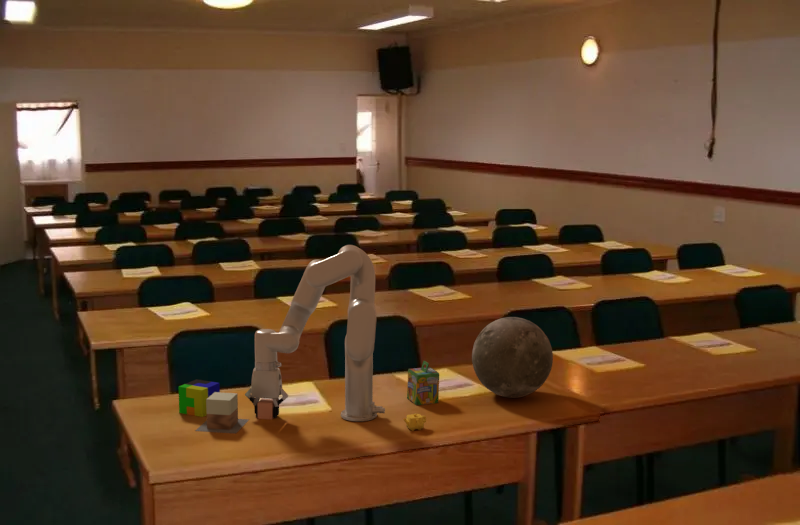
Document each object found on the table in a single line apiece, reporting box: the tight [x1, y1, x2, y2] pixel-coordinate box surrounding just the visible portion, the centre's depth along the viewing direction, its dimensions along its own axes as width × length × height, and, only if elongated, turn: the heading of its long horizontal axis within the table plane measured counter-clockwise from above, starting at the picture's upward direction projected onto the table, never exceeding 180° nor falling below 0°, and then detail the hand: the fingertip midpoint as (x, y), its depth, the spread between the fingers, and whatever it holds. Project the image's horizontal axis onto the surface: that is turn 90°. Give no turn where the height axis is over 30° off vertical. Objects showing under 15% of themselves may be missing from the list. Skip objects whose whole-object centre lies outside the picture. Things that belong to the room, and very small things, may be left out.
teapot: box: [402, 413, 427, 432], centre depth 295 cm, size 8×6×5 cm
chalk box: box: [406, 360, 440, 406], centre depth 324 cm, size 9×9×15 cm
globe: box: [471, 316, 554, 399], centre depth 330 cm, size 30×30×30 cm
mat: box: [194, 418, 250, 434], centre depth 296 cm, size 14×14×1 cm
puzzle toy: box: [177, 378, 221, 418], centre depth 310 cm, size 10×10×10 cm
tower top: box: [206, 391, 239, 415], centre depth 295 cm, size 8×8×5 cm
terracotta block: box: [257, 398, 275, 420], centre depth 305 cm, size 5×5×6 cm
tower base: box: [206, 408, 239, 430], centre depth 296 cm, size 8×8×5 cm
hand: (266, 415), depth 305 cm, fingers open, 5 cm apart
